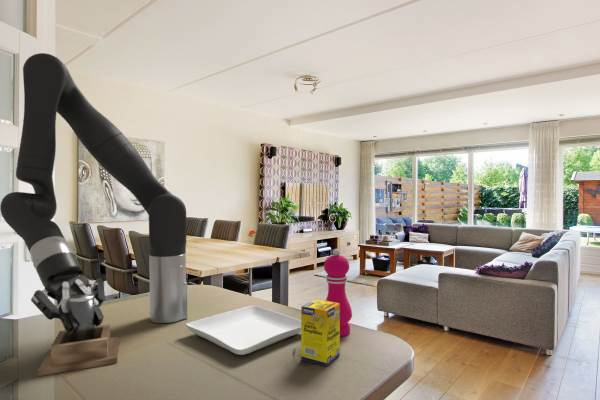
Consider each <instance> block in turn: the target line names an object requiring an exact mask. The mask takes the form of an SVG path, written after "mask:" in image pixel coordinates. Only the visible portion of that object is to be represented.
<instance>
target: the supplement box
mask: <svg viewBox="0 0 600 400" xmlns="http://www.w3.org/2000/svg"><path fill="white" fill-rule="evenodd" d="M300 309H301V311H300V312H301V315H300V316H301V318H300V320H301V332H300V334H301V337H300V338H301V341H300V343H301V345H300V346H301V353H300V354H301V357H300V358H301V360H302V361H304V362H308V363H312V364H315V365H319V366H323V367H328V366H329V365H330V364H331V363H332V362H333V361H335V359H338V358H339V357H340V356H341V354H340V352H341V351H340V350H341V348H340V347H341V346H340V345H341V344H340V342H341V341H340V340H341V339H340V338H341V337H340V303H335V302H329V301H326V300H323V299H318V298H317V299H314V300H312V301H311V302H308V303H306V304H303V305H301V308H300Z"/></svg>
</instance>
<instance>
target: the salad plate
mask: <svg viewBox="0 0 600 400" xmlns="http://www.w3.org/2000/svg"><path fill="white" fill-rule="evenodd" d="M185 326H186V328H187V329H188V330H189V331H190V332H192V333H194V335H197V336H199V337H201V338H204V339H206V340H207V341H209V342H211V343H214V344H215V345H217V346H220V347H221V348H224V349H226V350H227V351H229V352H231V353H232V354H235V355H239V356H245V355H247V354H251V353H253V352H255V351H259V350H261V349H263V348H266V347H268V346H271V345H274V344H275V343H277V342H280V341H283V340H285V339H287V338H290V337H292V336H296V335H297V334H300V333H301V319H298V318H296V317H292V316H289V315H286V314H284V313H280V312H277V311H275V310H271V309H268V308H264V307H262V306H258V305H249V306H245V307H239V308H236V309H233V310H229V311H225V312H221V313H217V314H214V315H211V316H207V317H204V318H200V319H197V320H193V321H190V322H186V323H185Z"/></svg>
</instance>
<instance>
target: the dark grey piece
mask: <svg viewBox="0 0 600 400" xmlns="http://www.w3.org/2000/svg"><path fill="white" fill-rule="evenodd" d="M70 312H71V313H72V315H73V317H74V319H75V321H76V323H77V326H78V329H77V331H76V332H75V333H73V334H70V332H69V343H71V342H78V341H85V340H92V339H95V320H94V293H92V294H79V295H74V296H71V297H69V313H70Z"/></svg>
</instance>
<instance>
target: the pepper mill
mask: <svg viewBox="0 0 600 400" xmlns="http://www.w3.org/2000/svg"><path fill="white" fill-rule="evenodd" d="M332 254H333V255H331V256H328V257H327V258H326V259H325V260H324V264H323V267H324V268H323V269H324V271H325V273H326V274H327V275H325V276H326V280H325V282H326V283H327V287H328V288H327V289H328V290H327V296H326V299H325V301H329V302H335V303H340V338H341V337H346V336H348V335H350V334H351V325H350V323H349V322H350V321H351V319H352V318H353V313H352V311H353V310H352V306H351V305H350V302H349V300H348V298H347V294H346V283H347V282H348V280H347V278H348V276H347V273H348V272H349V270H350V262H349V260H348V259H347V258H346V257H345V256H343V255H340V254H341V251H340V249H339V248H334V249H333V250H332Z"/></svg>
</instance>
